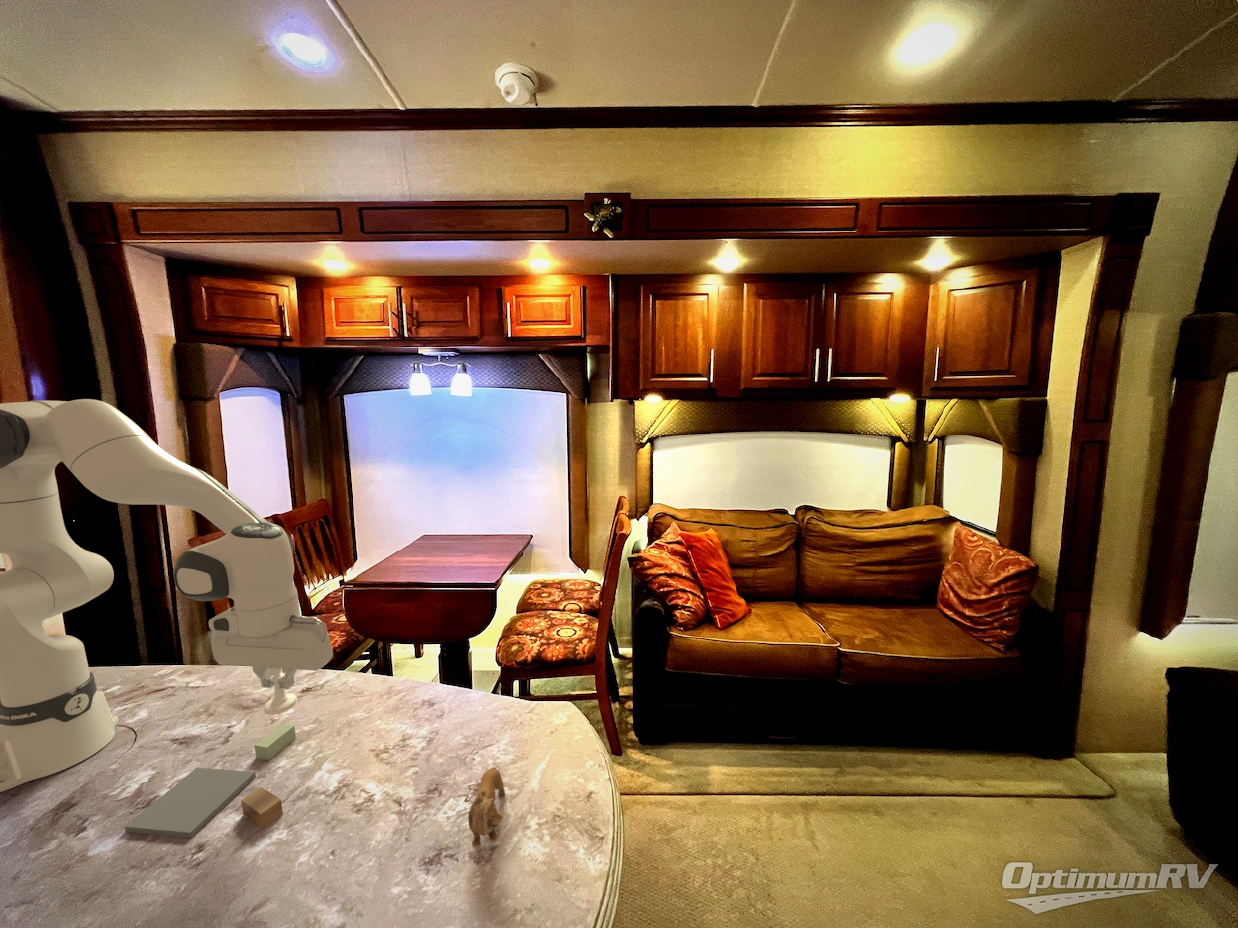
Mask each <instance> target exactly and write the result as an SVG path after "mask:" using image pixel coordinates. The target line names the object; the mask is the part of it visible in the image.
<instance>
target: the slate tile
mask: <svg viewBox="0 0 1238 928" xmlns="http://www.w3.org/2000/svg"><path fill="white" fill-rule="evenodd" d="M256 777H257V776H256V772H255V771H247V770H245V771H244V770H233V769H221V768H220V769H219V768H210V767H209V768H207V767H196V768H194V769H193V770H192V771H191V772H189V773H188V774H187V775H186V776H184V777H183V778H182V779H181V780H180V781H178V782H177V783H176V784H175V785H173V786H172V787H171V788H170V789H169V790H168V791H166V792H165V793H164V794H163V795H161V796H160V797H158V798H157V799H156V800H155V801H154V802H153V803H151V804H150V805H149V806H148V807H146V808H145V809H144V810H143V811H141V812H140V813H139V814H138V815H136V816H135V817H134V818H133V819H132V820H131V821H129V822H128V823H127V824H126V825H124V832H125V833H132V834H133V833H134V834H135V833H136V834H143V835H144V834H146V835H153V836H154V835H156V836H166V837H176V838H177V837H178V838H186V839H187V838H189V839H193V837H194V836H195V835H196V834H197V833H198V832H200V830H201V829H203V828H204V827H205V826H206V825H207V824H208V823H209V822H210V821H211V820H213V818H214V817H215V816H216V815H218V813H219V812H220V811H222V810H223V809H224V808H225V806H227V805H228V804H229V803H230V802H231V801H232V800H233V799H234V798H235V797H236V796H237V795H238V794H239V793H240V792H241V791H242V790H243V789H245V787H247V785H249V784H250V783H251V782H252V781H253V780H254V779H255V778H256Z"/></svg>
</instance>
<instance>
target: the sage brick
mask: <svg viewBox="0 0 1238 928" xmlns="http://www.w3.org/2000/svg"><path fill="white" fill-rule="evenodd" d="M295 739H297V736H296V728H295V725H292V724H287V723H281V724H280V725H279V726H277V727H275V729H273V730H272V731H270V732H269V733H268V734H267V735H266V736H264V737H263V738H262V739H261V740H259V741H258V742H256V743H255V744H254V751H255V758H256V759H260V760H266V761H270V760H271V759H272V758H273V757H274V756H276V755H277V754H279V752H281V751H282V750H283V749H285V747H287V746H288V745H289V744H291V743H292V742H293V741H294V740H295Z"/></svg>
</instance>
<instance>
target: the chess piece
mask: <svg viewBox="0 0 1238 928" xmlns="http://www.w3.org/2000/svg"><path fill="white" fill-rule="evenodd" d="M269 670H270V671H271V672H272V674H273V676H272V677H271V678H270V681H272V682H274V689H273V690H274V693H273V694H274V695H273V697H272V698H271V699H270V700H269V701H267V702H266V703H265V704H264V707H263V709H264V710H263V711H264V713H265V714H266V715H269V716H270V715H271V716H273V715H279V714H282V713H284V712H287V711H288V710H290V709H292V708H294V707H295V706H296V705H297V703H298V696H297V695H296V694H294V693H289V692H288V693H286V692H285V689H281V688H279V686H280V685H279V680H280V679H281V678H283V677H284V676H285V673H283V672H282V668H269Z"/></svg>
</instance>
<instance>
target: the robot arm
mask: <svg viewBox="0 0 1238 928" xmlns="http://www.w3.org/2000/svg"><path fill="white" fill-rule="evenodd" d="M61 462H62V463H63V464H64V465H65V466H66V468H67V470H68V469H69V471H70V472H71V473H72V474H73V475H74V477H75V478H77V480H78V481H79V482H80V483H81V484H82V485H83V486H84V487H85V488H86V489H87V490H89V491H90V492H91V493H93V494H94V495H96V496H97V497H99V498H101V499H103V500H106V501H108V502H112V503H117V504H122V505H123V504H125V505H133V506H134V505H158V506H159V505H161V506H162V505H163V506H173V507H180V508H186V509H190V510H193V511H195V512H197V513H199V514H201V515H202V516H203V517H204V518H206V520H208V521H210V522H211V524H213V525H214V526H215V527H217V528H218V529H219V530H221V532H223V533H225V535H223V536H221V537H219V538H218V539H215V540H212V541H210V542H209V541H208V542H207V543H204V544H200V545H198V546H196V547H195V546H194V547H193V548H191V549H189V550H187V551H184V552H182V553H181V554H180V555H179V556H178V558H177V560H176V562H175V564H174V566H173V567H174V568H173V579H174V583H175V587H176V588H177V590H178V591H179V592H180V593H181V594H182V595H183V596H185V597H186V598H189V599H191V600H194V601H198V602H211V601H213V602H214V601H220V600H223V599H226V598H228V599H232V600H233V606H232V607H231V608H229V609H228V608H227V609H226V610H225V611H223V612H221V613H219V614H217V615H216V616H214V617H212V618H211V619H209V620H208V627H209V629H210V631H212V632H211V635H210V643H211V649H212V650H211V651H212V655H213V659H214V660H215V662H217V663H218V665H222V666H236V667H250V668H251V667H252V672H253V673H254V674H255V675H256V677H257V678H258V679H259V680H260V683H261V687H262V688H267V689H271V688H273V686H274V682H272V681H270V678H271V677H272V676H273V674H272V672H271V671H270V670H269V668H281V673H283V674H284V675H285V676H284V677H283V678H281V679H280V680H279V685H280V686H279V688H281V689H284V690H289V689H291V688H292V687H293V686H294V685H295V675H296V673H297V671H298V670H302V671H304V670H305V671H313V672H314V671H319V670H320V669H322V668H323V667H325V665H327V664H328V663H329V662H330V661H331V660H332V659H333V657H334V652H333V646H332V641H331V638H330V634H329V633H328V629H327V625H326V623H325V622H323V621H322V620H320V619H319V618H318V617H317V616H303V615H301V611H300V610H301V609H300V605H299V603H300V602H299V595H298V594H299V593H298V590H297V587H296V586H295V583H294V573H295V562H294V561H295V560H294V556H293V555H294V543H293V541H292V538H291V537H290V535H289V534H288V533H287V532H286V531H285V529H284V528H283V527H282V526H281V525H279V524H274V523H273V522H271V521H269V520H267V519H265V518H264V517H262V516H261V515H259V514H258V513H257V512H256V511H254V509H252V508H251V507H249V506H248V504H246V503H245V502H244V501H242V500H241V499H240V498H239V497H237V496H236V495H235V494H234V493H233V492H232V491H230V490H229V489H228V488H226V487H225V486H224V485H223V484H222V483H221V482H219V481H218V480H217V479H216V478H215V477H213V476H211V475H210V474H208V473H207V472H205V471H204V470H202V469H200V468H197V467H194V466H191V465H189V464H188V463H185V462H184V461H181V460H179V459H178V458H176V457H175V456H173V455H171V454H170V453H169V452H167V451H166V450H164V449H163V448H161V446H159V445H158V444H157V443H156V442H155V441H154V440H153V439H152V438H151V437H150V436H149V435H148V434H147V432H146V431H144V429H142V428H141V427H140V426H139V425H138V424H137V423H136V422H135V421H133V419H131V418H129V417H128V416H127V415H125V414H124V413H123V412H121V411H120V410H119V409H118V408H116V407H115V406H113V405H111V404H109V403H107V402H105V401H102V400H98V399H93V398H92V399H91V398H81V399H74V400H70V401H66V400H63V401H62V400H42V399H41V400H29V401H18V402H4V403H0V554H3V555H4V554H5V555H7V557H8V558H9V559H10V562H11V568H10V569H9V570H6V571H2V572H0V793H1V792H2V793H3V792H5V791H7V790H11V789H12V788H15V787H17V786H19V785H22V784H25V783H28V782H30V781H33V780H37V779H40V778H45V777H48V776H52V775H54V774H56V773H58V772H62V771H63V770H66V769H68V768H71V767H73V766H74V765H77V764H79V763H81V762H82V761H84V760H86V759H88V758H89V757H92V756H94V755H95V754H96V753H98V752H99V751H100V750H102V749H103V748H104V747H106V746H107V745H108V744H109V743H110V742H112V740H113V738H115V737H114V736H115V734H116V729H115V728H116V726H117V725H118V723H119V722H120V718H119V715H112V713H111V710H110V708H109V704H108V702H107V698H106V697H105V694H104V693H103V692H104V691H101V690H98V688H97V680H96V678H95V676H94V673H92V672H91V671H90V667H89V663H88V659H87V653H86V650H85V649H86V648H85V645H84V643H83V641H81V639H78V638H77V637H75V636H73V635H67V634H48V633H46V631H45V630H44V627H43V623H44V621H46V620H48V619H50V618H53V617H55V616H58V615H60V614H62V613H65V612H68V611H71V610H73V609H75V608H78V607H81V606H83V605H85V604H87V603H88V602H90V601H91V600H93V599H95V598H97V597H99V596H100V595H101V594H103V593H105V592H106V591H108V590H109V589H110V588H111V586H112V585H113V582H114V576H115V575H114V574H115V573H114V569H113V566H112V565H111V563H110V562H109V561H108V560H107V559H106V558H105V557H104V556H102V555H100V554H98V553H95V552H93V551H92V552H91V551H89V550H85V549H84V548H82V547H80V546H79V545H78V544H76V543H75V541H74V540H73V539H72V538H71V537H70V535H69V533H68V531H67V528H66V526H65V522H64V517H63V513H62V512H63V511H62V508H61V501H60V493H59V490H58V489H59V487H58V483H57V478H56V474H55V473H56V471H55V470H56V467H57V465H58V464H59V463H61ZM274 687H275V686H274Z"/></svg>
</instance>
